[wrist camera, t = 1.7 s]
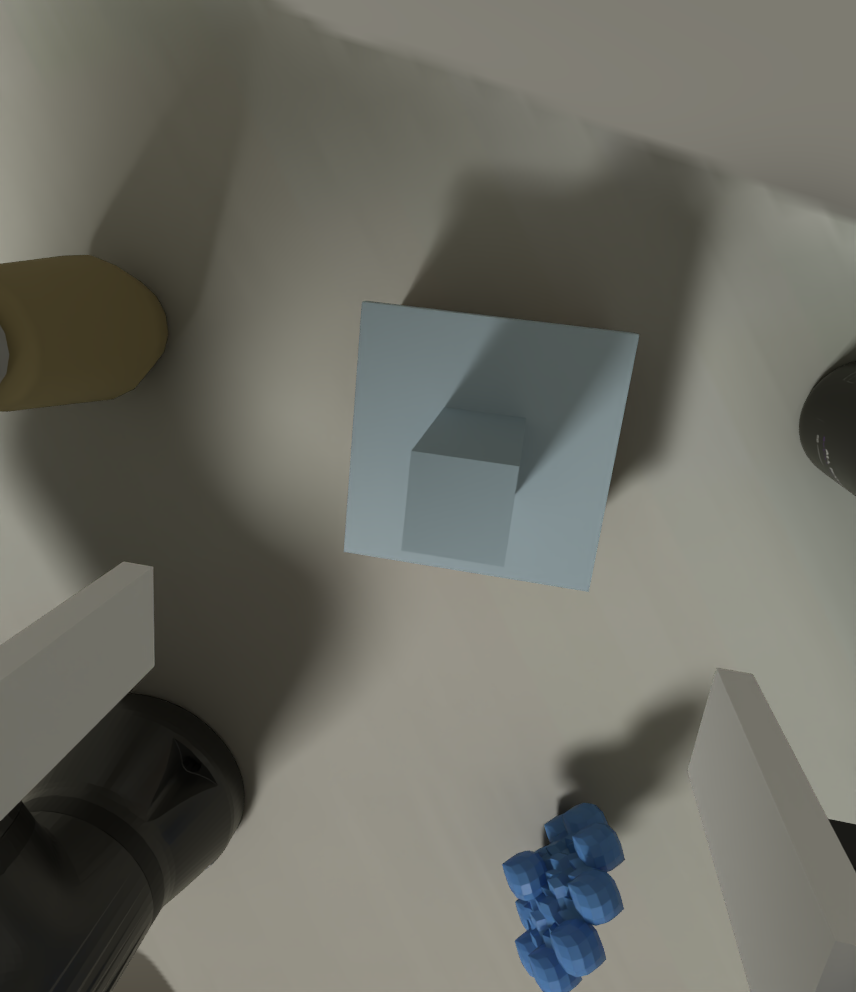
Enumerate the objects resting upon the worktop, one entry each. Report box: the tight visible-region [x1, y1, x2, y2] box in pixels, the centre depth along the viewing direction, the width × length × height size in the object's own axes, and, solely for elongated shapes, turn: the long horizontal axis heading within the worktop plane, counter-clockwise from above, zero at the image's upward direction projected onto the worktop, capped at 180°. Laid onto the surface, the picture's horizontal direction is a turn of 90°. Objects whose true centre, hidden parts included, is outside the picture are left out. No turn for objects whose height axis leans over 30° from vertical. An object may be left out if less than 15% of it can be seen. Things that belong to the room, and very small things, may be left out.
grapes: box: [502, 803, 625, 992], centre depth 43 cm, size 12×7×12 cm, turn 159°
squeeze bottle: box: [0, 255, 168, 411], centre depth 35 cm, size 8×8×18 cm
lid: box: [344, 301, 639, 592], centre depth 31 cm, size 13×13×10 cm
